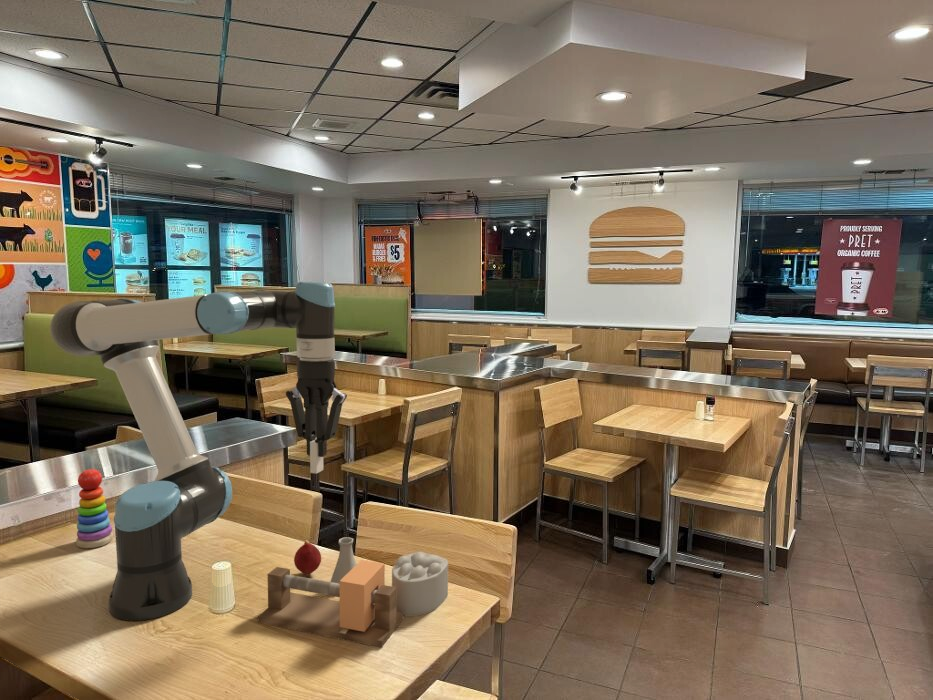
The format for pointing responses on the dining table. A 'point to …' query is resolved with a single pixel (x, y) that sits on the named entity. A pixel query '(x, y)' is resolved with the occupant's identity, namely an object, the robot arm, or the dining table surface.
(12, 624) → the dining table surface
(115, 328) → the robot arm
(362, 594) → the collar
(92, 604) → the dining table surface
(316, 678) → the dining table surface
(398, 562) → the lumpy-topped squat cylinder
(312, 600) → the pipe stand
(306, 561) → the onion
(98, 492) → the stacking toy
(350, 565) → the flask
